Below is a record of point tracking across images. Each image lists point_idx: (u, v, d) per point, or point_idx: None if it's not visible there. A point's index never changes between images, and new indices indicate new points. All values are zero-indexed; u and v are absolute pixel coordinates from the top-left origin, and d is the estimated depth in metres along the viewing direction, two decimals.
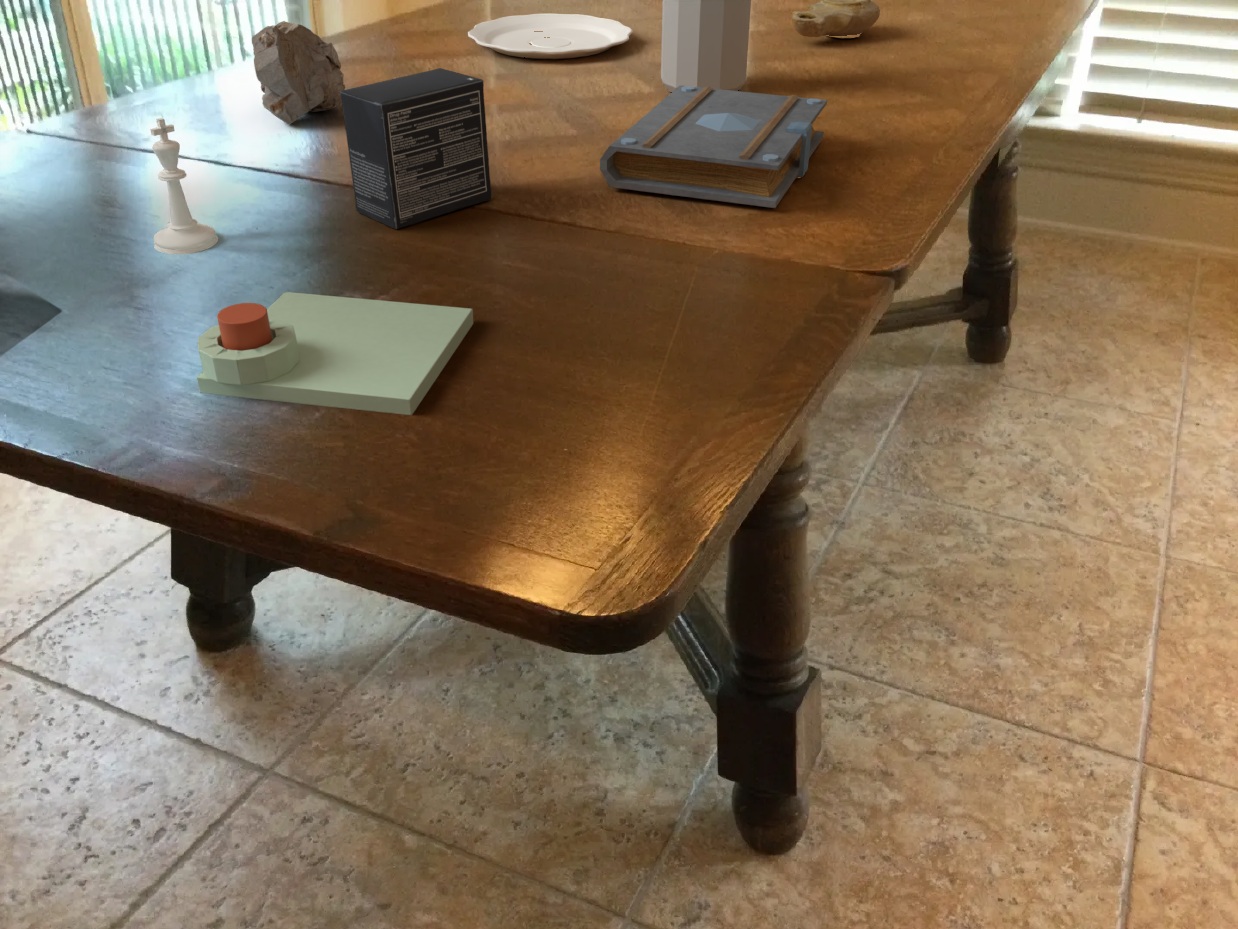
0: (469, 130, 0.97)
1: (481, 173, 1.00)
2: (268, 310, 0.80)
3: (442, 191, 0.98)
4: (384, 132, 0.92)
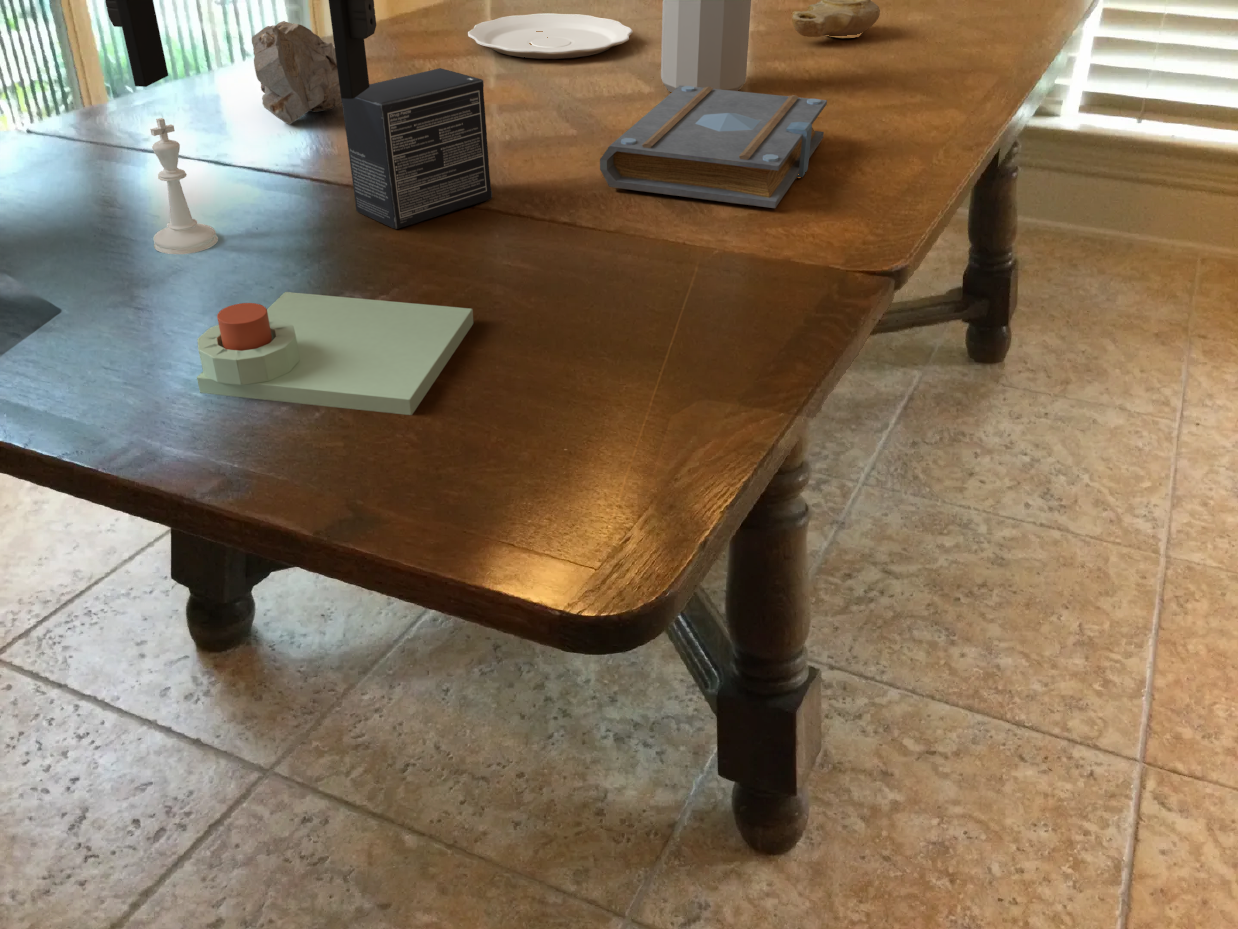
0: (469, 130, 0.97)
1: (481, 173, 1.00)
2: (268, 310, 0.80)
3: (442, 191, 0.98)
4: (384, 132, 0.92)
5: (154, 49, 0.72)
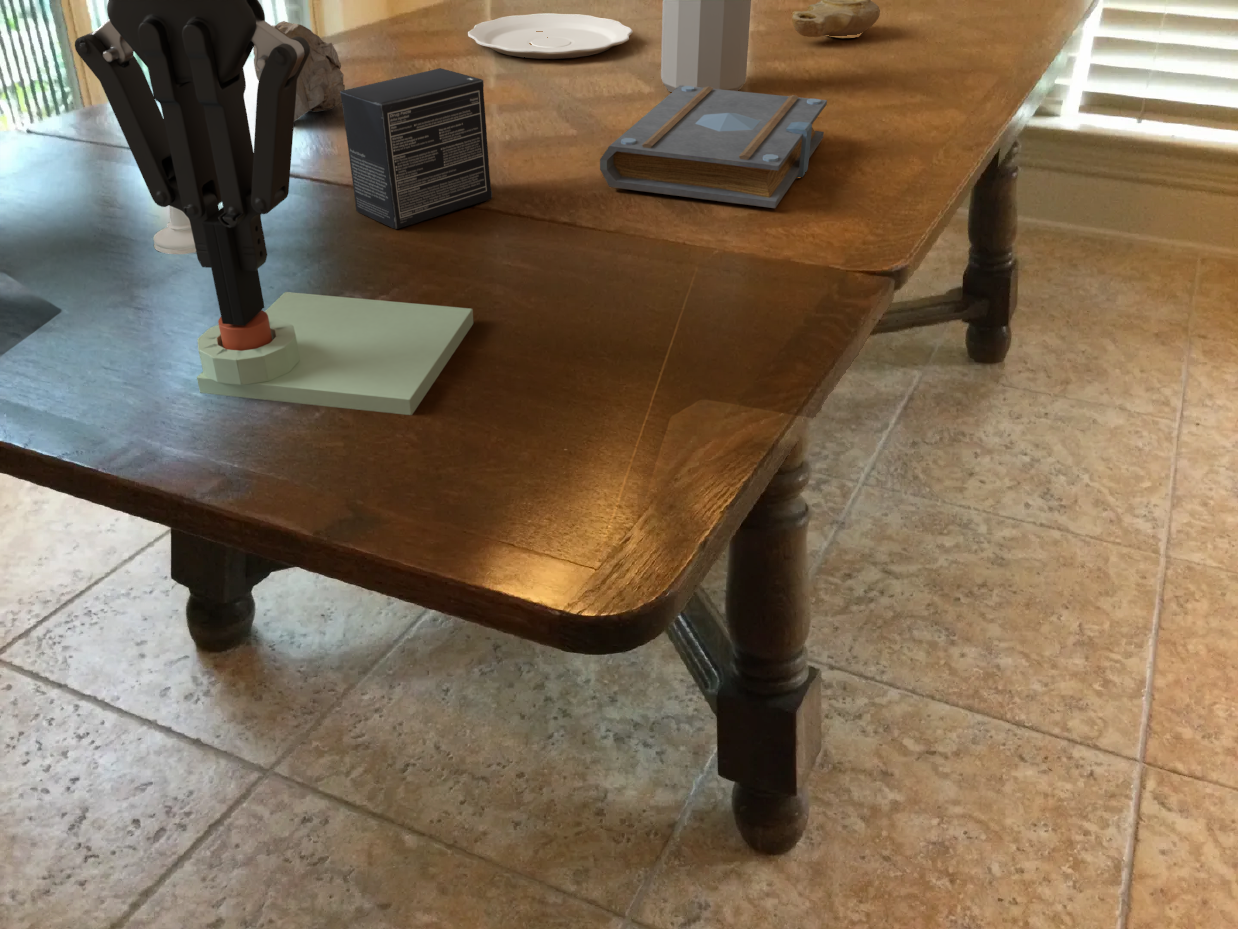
0: (469, 130, 0.97)
1: (481, 173, 1.00)
2: (268, 310, 0.80)
3: (442, 191, 0.98)
4: (384, 132, 0.92)
5: None
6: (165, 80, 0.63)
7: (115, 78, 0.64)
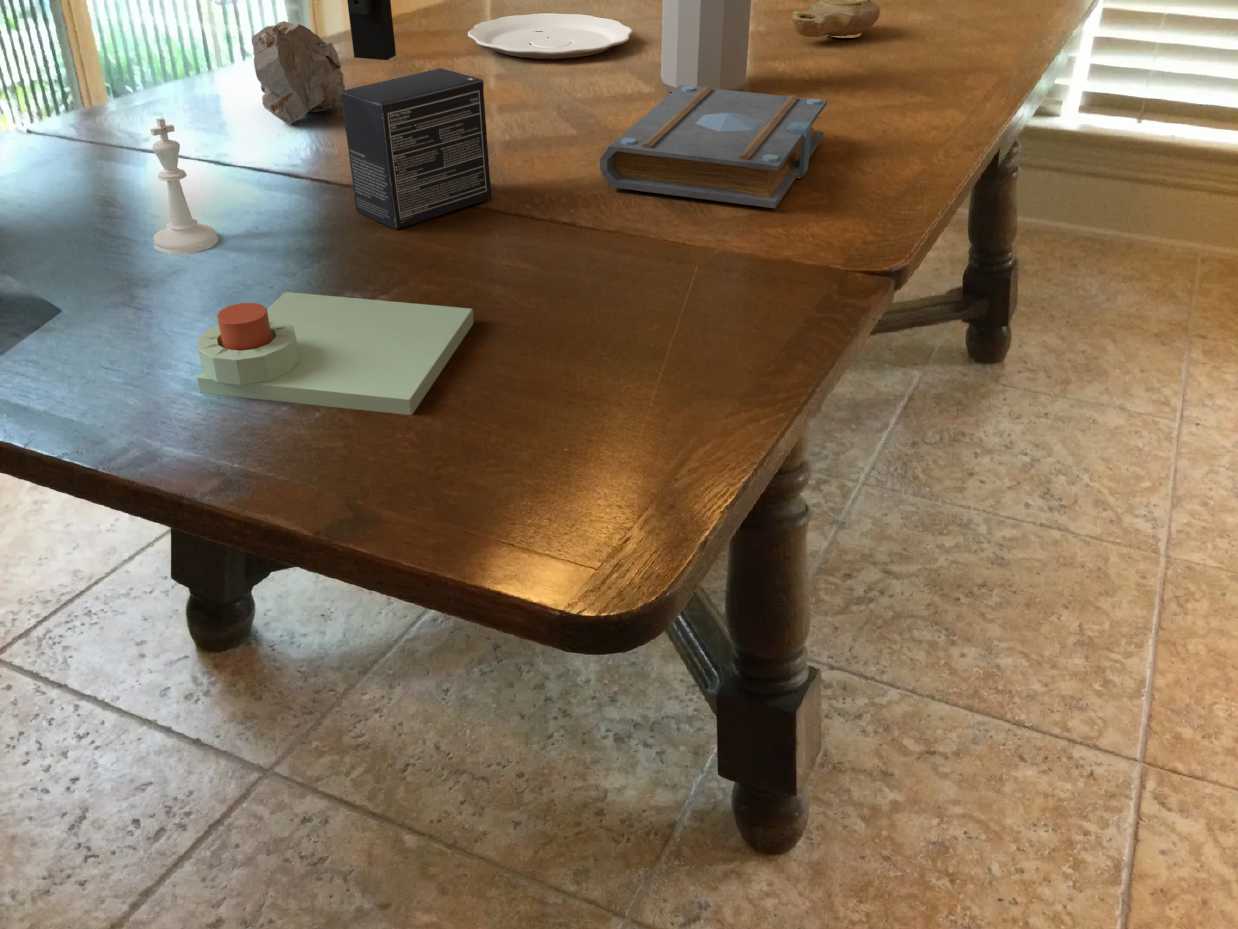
0: (469, 130, 0.97)
1: (481, 173, 1.00)
2: (268, 310, 0.80)
3: (442, 191, 0.98)
4: (384, 132, 0.92)
5: None
6: None
7: None
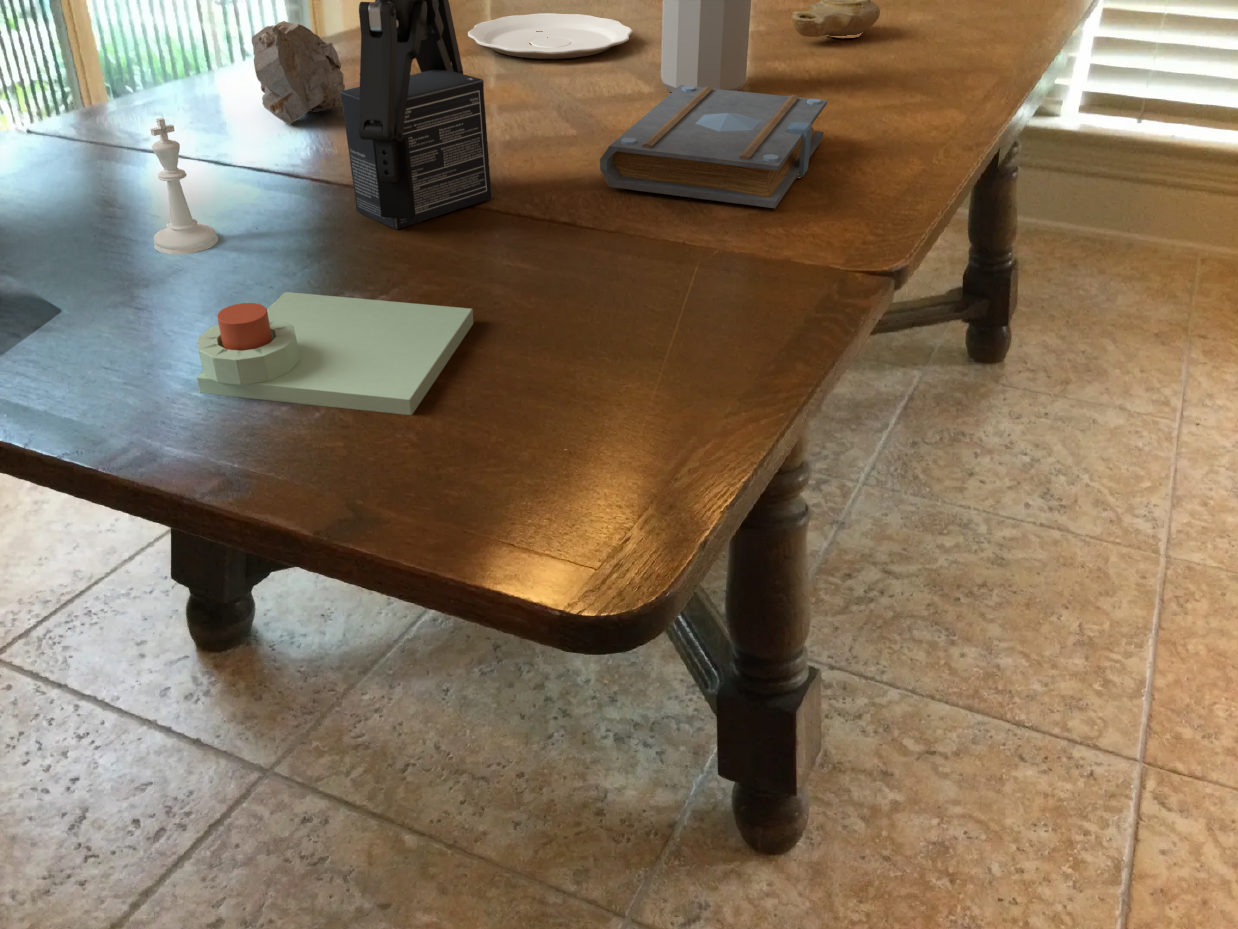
0: (469, 130, 0.97)
1: (482, 173, 1.00)
2: (268, 310, 0.80)
3: (442, 191, 0.98)
4: None
5: None
6: (419, 41, 0.91)
7: (396, 39, 0.87)
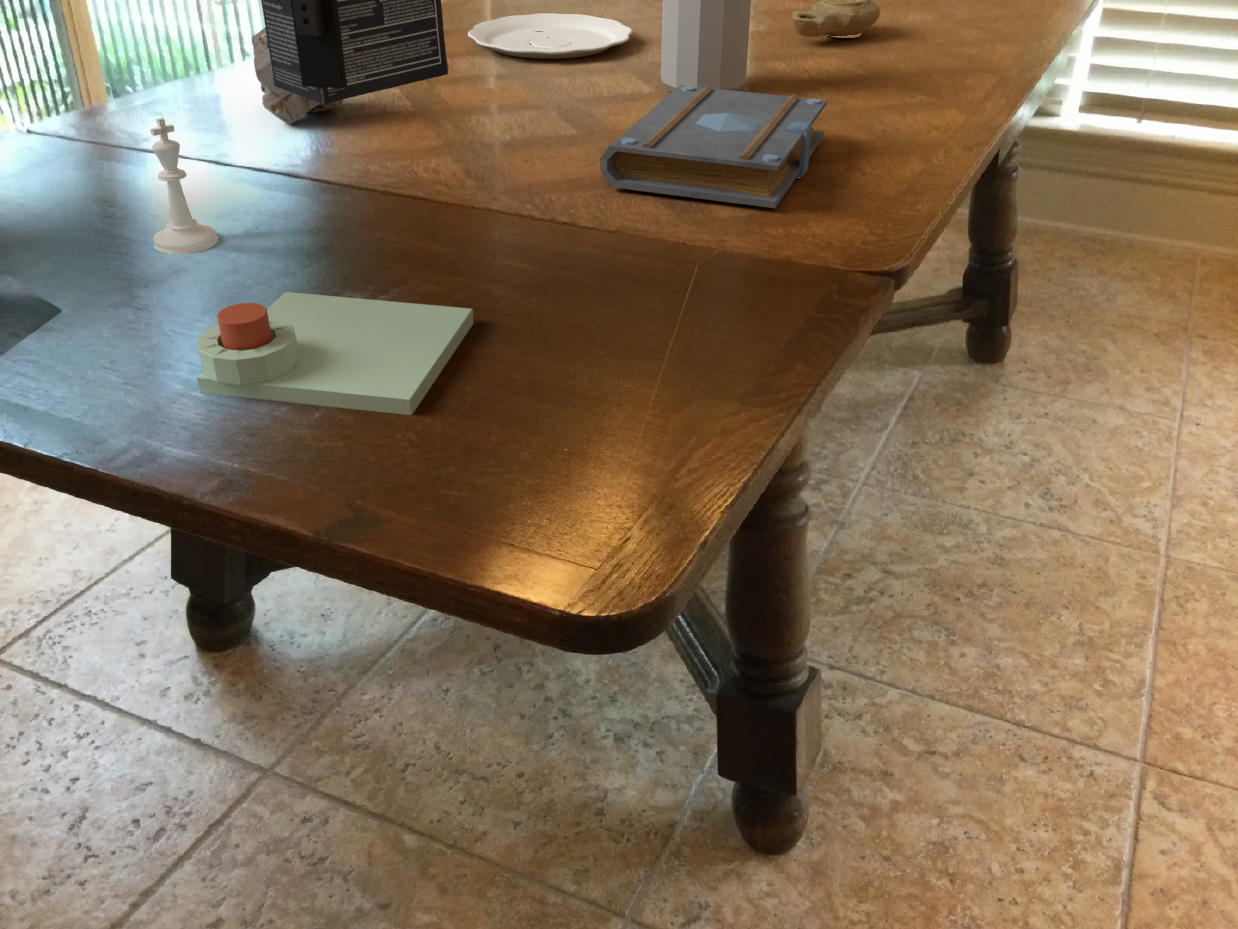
0: None
1: (434, 39, 0.79)
2: (268, 310, 0.80)
3: (383, 58, 0.76)
4: None
5: None
6: None
7: None
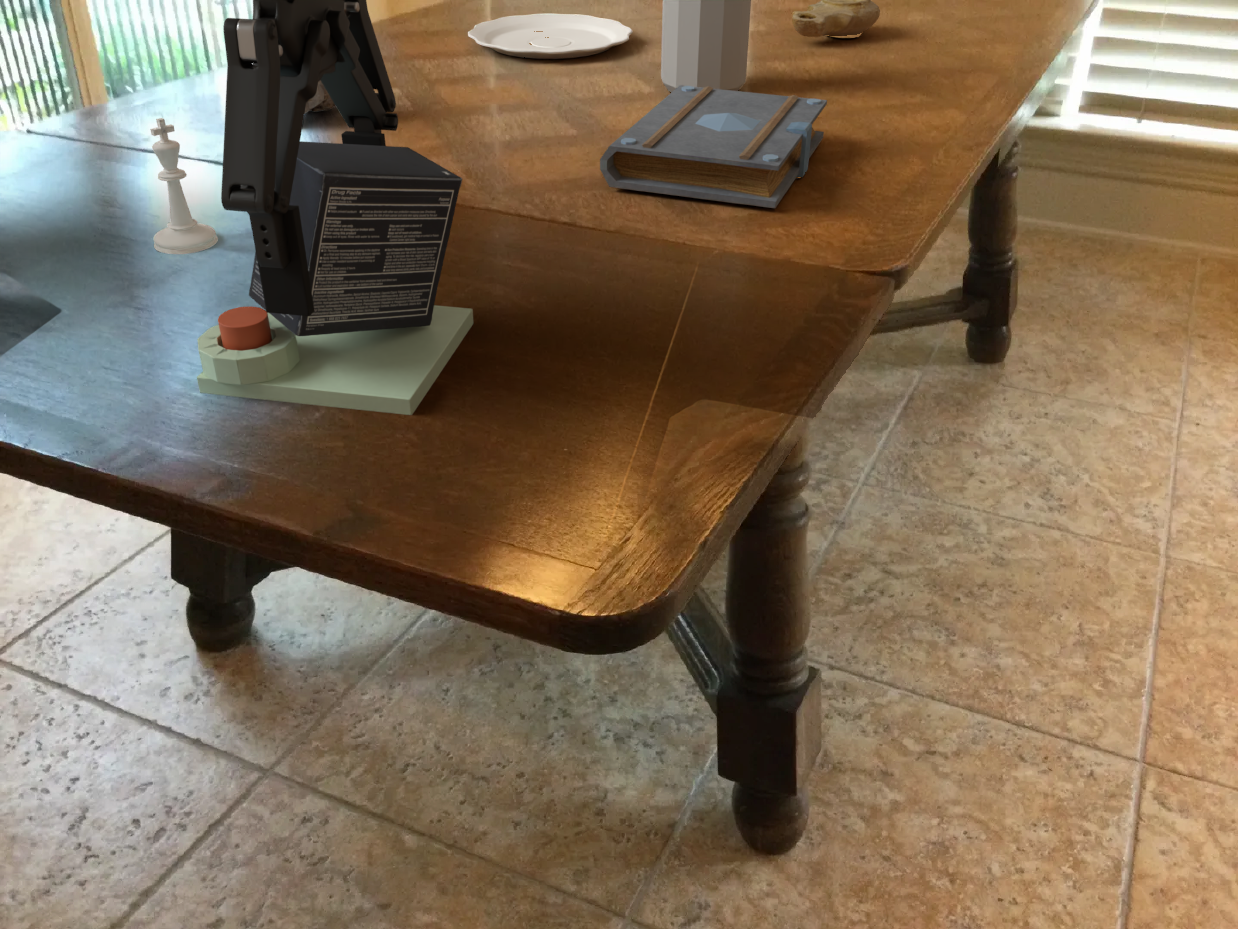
0: (427, 236, 0.74)
1: (426, 292, 0.76)
2: None
3: (371, 303, 0.73)
4: (319, 210, 0.67)
5: None
6: (316, 75, 0.65)
7: (278, 73, 0.61)
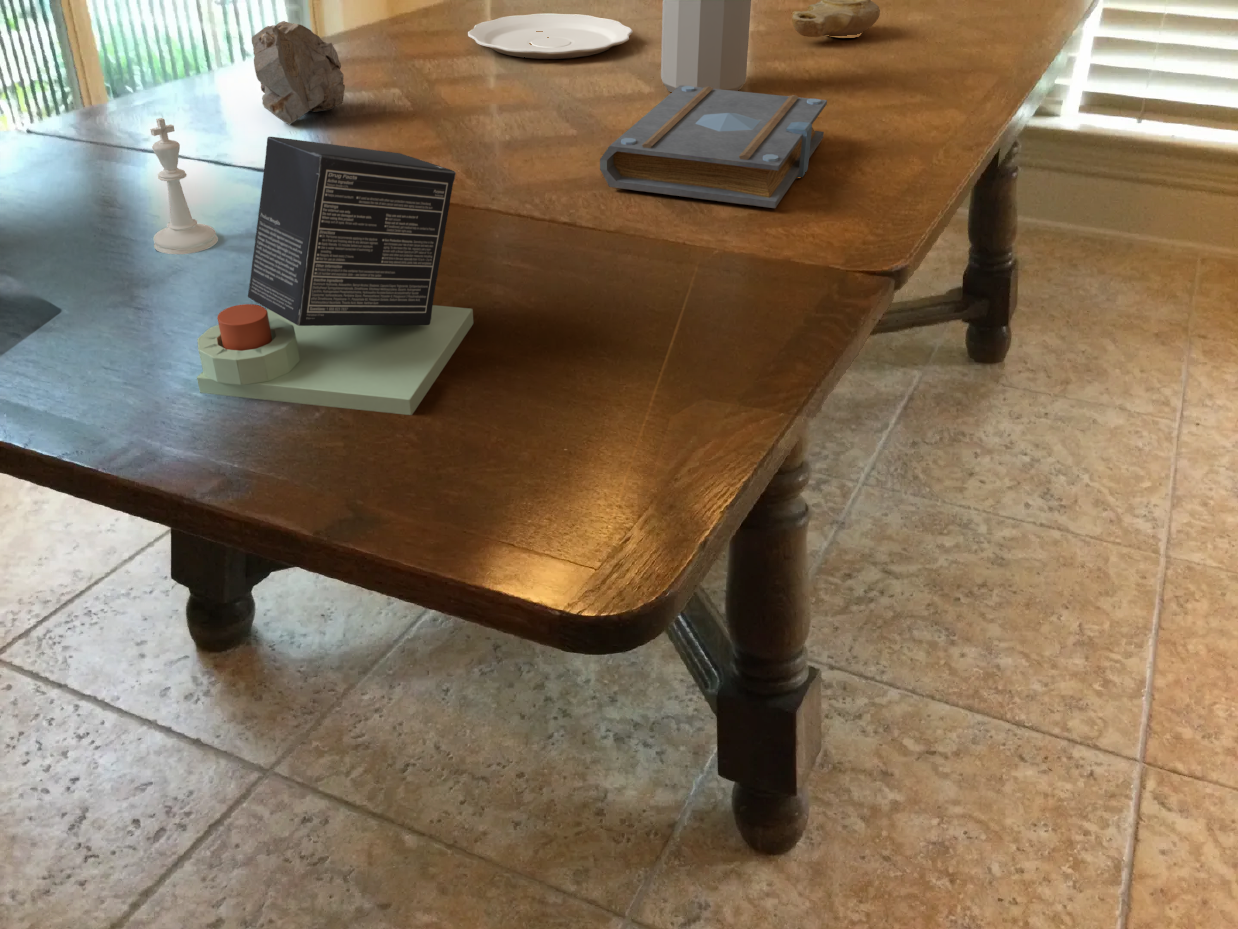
0: (423, 229, 0.74)
1: (425, 288, 0.76)
2: (268, 310, 0.80)
3: (370, 295, 0.73)
4: (316, 193, 0.68)
5: None
6: None
7: None
